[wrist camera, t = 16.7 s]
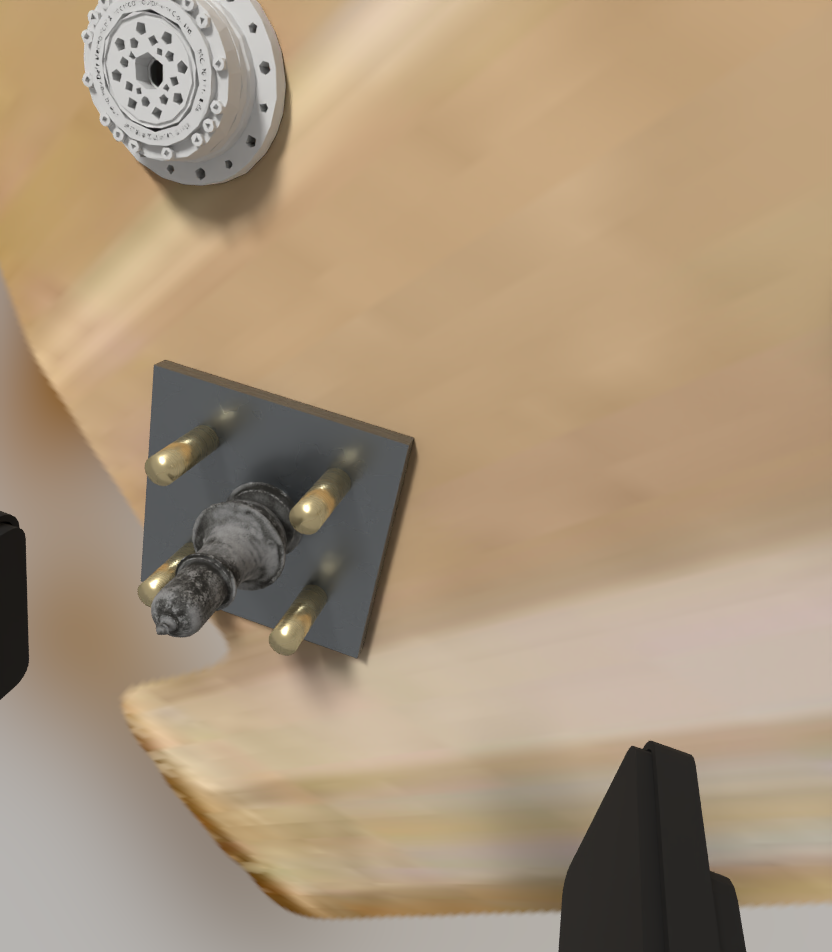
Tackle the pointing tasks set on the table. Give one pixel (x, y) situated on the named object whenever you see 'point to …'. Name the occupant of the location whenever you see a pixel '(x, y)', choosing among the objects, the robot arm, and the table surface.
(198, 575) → the grey chess piece
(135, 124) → the mechanical component
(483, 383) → the table surface
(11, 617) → the robot arm
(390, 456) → the standoff chassis
